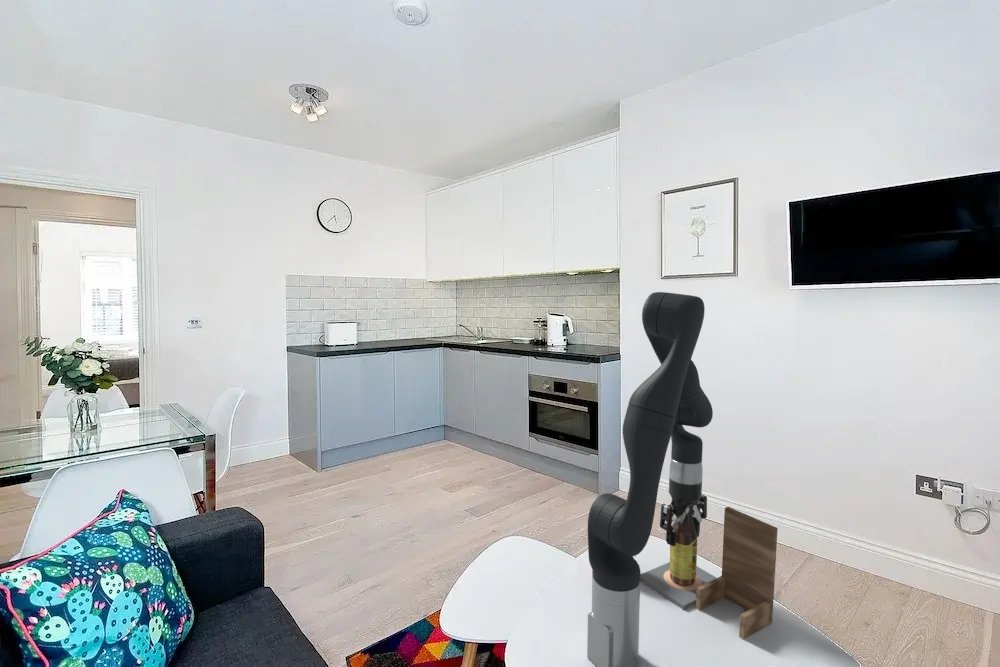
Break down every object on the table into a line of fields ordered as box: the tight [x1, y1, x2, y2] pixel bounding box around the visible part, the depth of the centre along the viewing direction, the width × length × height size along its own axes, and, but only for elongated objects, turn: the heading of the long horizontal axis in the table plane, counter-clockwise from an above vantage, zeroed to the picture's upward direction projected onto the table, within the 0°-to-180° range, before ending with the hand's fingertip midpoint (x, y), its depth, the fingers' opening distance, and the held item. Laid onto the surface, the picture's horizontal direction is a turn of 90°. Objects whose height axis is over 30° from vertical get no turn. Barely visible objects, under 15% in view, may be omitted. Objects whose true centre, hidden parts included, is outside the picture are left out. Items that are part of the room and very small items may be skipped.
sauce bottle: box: [669, 504, 698, 586], centre depth 125 cm, size 7×6×20 cm
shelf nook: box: [695, 506, 779, 640], centre depth 113 cm, size 10×12×22 cm
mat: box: [640, 561, 717, 610], centre depth 126 cm, size 16×14×1 cm
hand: (683, 540), depth 125 cm, fingers open, 8 cm apart
